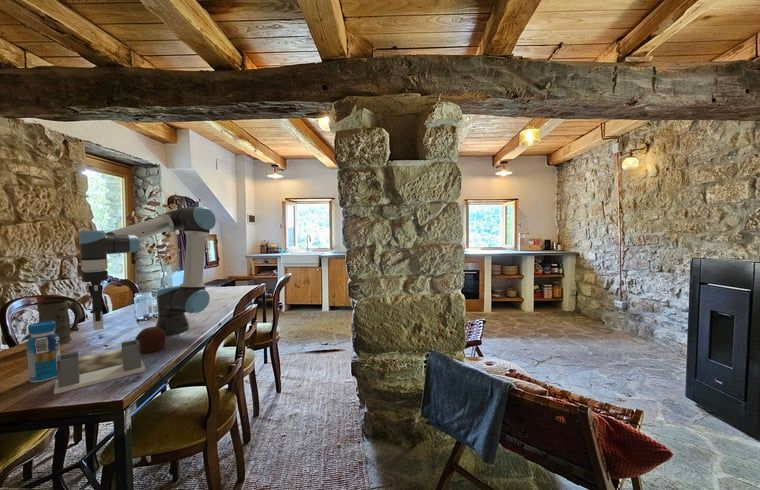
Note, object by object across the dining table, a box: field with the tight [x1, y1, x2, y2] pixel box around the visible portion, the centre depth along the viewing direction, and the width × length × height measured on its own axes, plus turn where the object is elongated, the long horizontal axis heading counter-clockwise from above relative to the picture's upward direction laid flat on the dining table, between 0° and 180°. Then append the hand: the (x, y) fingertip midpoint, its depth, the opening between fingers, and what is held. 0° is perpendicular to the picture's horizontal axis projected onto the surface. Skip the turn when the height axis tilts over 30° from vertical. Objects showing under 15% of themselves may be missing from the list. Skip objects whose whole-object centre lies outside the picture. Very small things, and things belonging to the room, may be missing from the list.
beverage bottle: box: [25, 321, 61, 383], centre depth 115 cm, size 8×8×20 cm
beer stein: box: [36, 300, 82, 346], centre depth 152 cm, size 15×11×20 cm
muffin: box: [134, 326, 167, 355], centre depth 139 cm, size 12×11×10 cm
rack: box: [53, 339, 146, 395], centre depth 115 cm, size 24×10×10 cm, turn 133°
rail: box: [78, 348, 123, 374], centre depth 124 cm, size 17×4×5 cm, turn 133°
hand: (98, 325), depth 123 cm, fingers open, 13 cm apart
